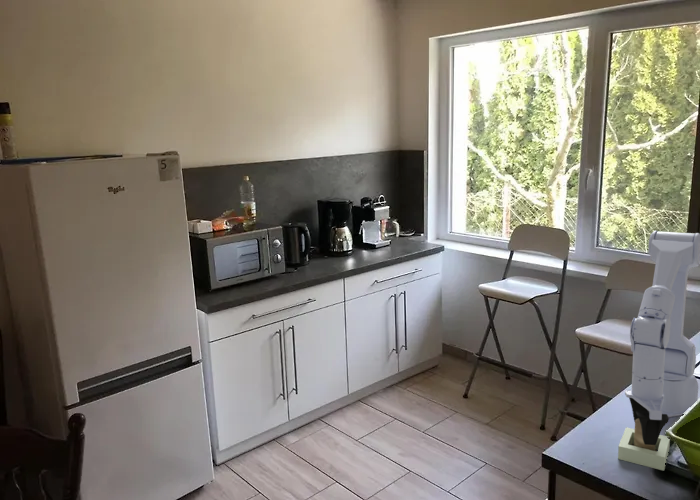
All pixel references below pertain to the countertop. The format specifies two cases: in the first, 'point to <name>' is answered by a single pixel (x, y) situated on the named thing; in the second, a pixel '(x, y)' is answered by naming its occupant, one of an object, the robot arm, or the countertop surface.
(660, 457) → the socket
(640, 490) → the countertop surface
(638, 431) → the peg
